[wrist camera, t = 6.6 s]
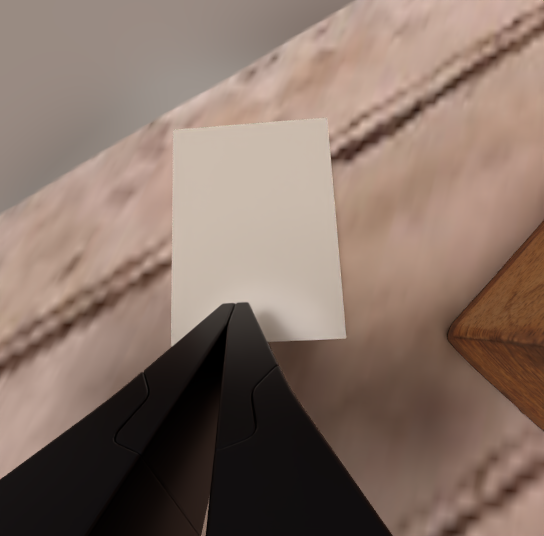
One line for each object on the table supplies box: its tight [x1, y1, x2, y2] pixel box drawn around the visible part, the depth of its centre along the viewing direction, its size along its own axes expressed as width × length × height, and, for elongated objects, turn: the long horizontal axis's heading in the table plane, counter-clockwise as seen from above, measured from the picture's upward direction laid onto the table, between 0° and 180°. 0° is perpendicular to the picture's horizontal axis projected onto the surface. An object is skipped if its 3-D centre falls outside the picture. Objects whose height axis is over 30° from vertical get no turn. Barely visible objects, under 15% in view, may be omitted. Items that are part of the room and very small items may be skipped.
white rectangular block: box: [171, 118, 346, 346], centre depth 16 cm, size 3×8×11 cm
